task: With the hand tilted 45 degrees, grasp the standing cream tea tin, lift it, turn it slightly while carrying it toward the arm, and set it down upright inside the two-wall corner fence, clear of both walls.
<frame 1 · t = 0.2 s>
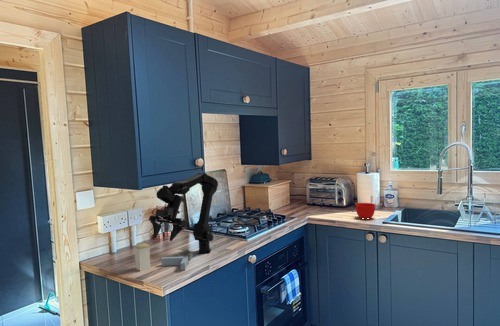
hand: (162, 239, 161), 15 cm above the worktop, tool tilted 30°, fingers open, 9 cm apart
egg carton: (181, 260, 177), on the worktop
tea tin: (143, 268, 167), on the worktop
corner fence: (169, 269, 164), on the worktop
ceramic cup: (364, 218, 253), on the worktop
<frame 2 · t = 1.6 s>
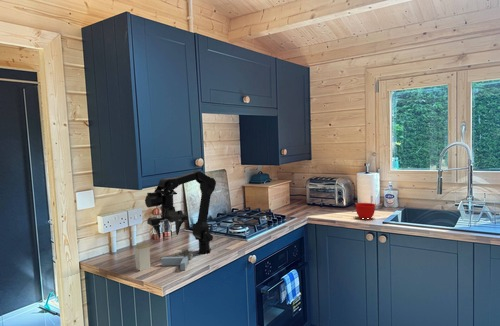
hand: (168, 236, 173), 13 cm above the worktop, tool pointing down, fingers open, 9 cm apart
nothing on the worktop moved.
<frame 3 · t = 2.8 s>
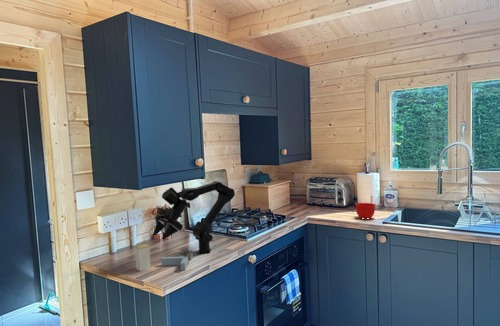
hand: (158, 237, 171), 13 cm above the worktop, tool tilted 45°, fingers open, 9 cm apart
nothing on the worktop moved.
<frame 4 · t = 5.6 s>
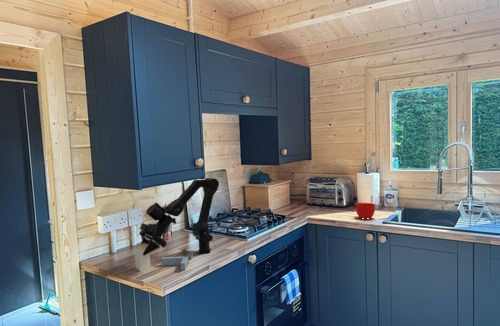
hand: (141, 253, 166), 7 cm above the worktop, tool tilted 45°, fingers closed on tea tin, 5 cm apart
tea tin: (143, 268, 167), on the worktop, touching gripper
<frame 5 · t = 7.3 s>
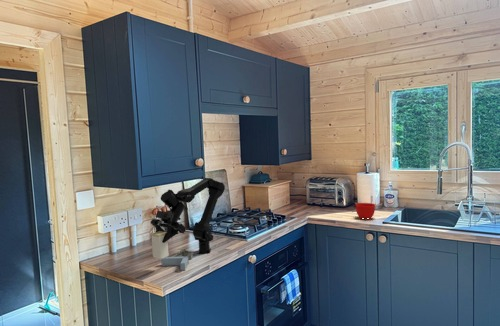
hand: (158, 241, 163), 13 cm above the worktop, tool tilted 45°, fingers closed on tea tin, 5 cm apart
tea tin: (160, 256, 164), point 6 cm above the worktop, touching gripper
when the fingers open (8 cm above the worktop, at t = 8.9 s): tea tin drops 1 cm, on the worktop.
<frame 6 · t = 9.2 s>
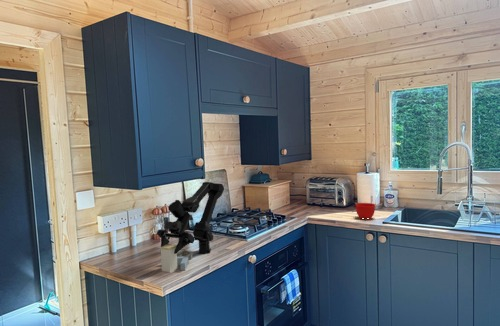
hand: (167, 252, 163), 8 cm above the worktop, tool tilted 45°, fingers open, 8 cm apart
tea tin: (169, 269, 164), on the worktop
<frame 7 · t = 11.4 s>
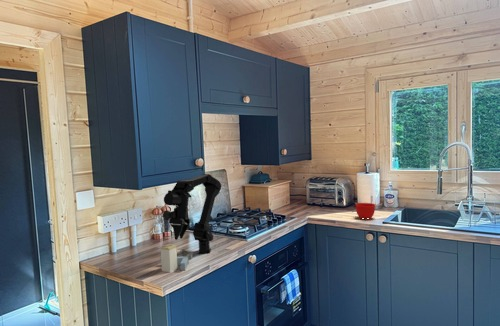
hand: (178, 239, 170), 12 cm above the worktop, tool pointing down, fingers open, 9 cm apart
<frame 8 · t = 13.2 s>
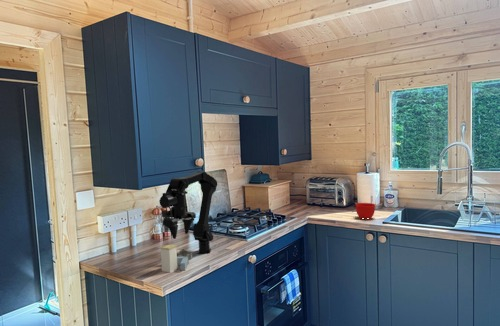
hand: (180, 236, 172), 13 cm above the worktop, tool pointing down, fingers open, 9 cm apart
at the end: tea tin inside the target area on the corner fence (0.8 cm from its centre), point 0.0 cm above the corner fence's base; tea tin touching worktop; tea tin tilted 0° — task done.
